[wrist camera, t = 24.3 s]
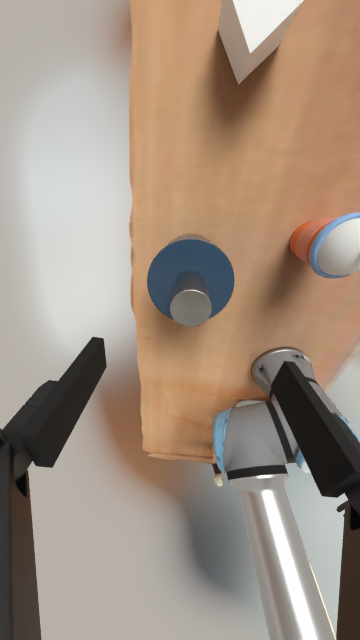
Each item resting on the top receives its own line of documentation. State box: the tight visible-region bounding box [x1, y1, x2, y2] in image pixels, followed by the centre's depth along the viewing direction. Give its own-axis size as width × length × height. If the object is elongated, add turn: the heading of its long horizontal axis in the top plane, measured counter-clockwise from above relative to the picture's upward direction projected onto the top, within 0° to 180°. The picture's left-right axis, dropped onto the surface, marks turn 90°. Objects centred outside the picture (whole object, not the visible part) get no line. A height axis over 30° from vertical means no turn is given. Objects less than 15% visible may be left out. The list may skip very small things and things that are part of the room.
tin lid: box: [147, 238, 234, 327], centre depth 25 cm, size 13×13×9 cm
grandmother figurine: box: [211, 445, 223, 486], centre depth 71 cm, size 8×4×13 cm, turn 38°
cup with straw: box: [290, 213, 360, 278], centre depth 28 cm, size 9×9×18 cm
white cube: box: [218, 0, 304, 85], centre depth 22 cm, size 6×6×6 cm
